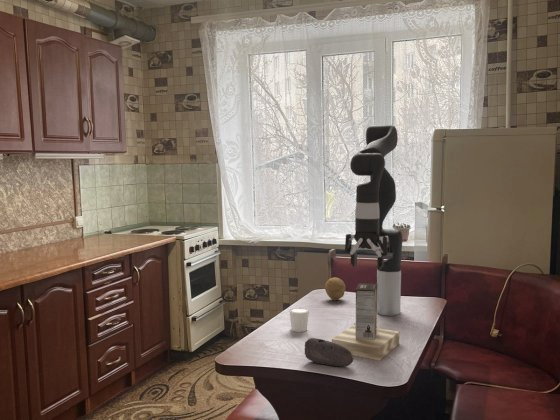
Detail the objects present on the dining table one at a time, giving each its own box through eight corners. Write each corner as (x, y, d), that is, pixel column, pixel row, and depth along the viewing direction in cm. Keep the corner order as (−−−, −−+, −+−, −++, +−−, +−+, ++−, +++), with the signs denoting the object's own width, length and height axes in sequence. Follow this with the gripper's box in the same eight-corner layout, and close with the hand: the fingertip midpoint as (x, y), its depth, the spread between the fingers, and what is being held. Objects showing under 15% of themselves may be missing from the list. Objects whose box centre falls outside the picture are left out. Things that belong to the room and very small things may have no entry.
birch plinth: (354, 335, 191) (354, 324, 191) (399, 343, 183) (399, 331, 182) (331, 351, 176) (331, 338, 175) (379, 360, 167) (379, 347, 167)
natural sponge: (328, 296, 247) (328, 274, 246) (348, 298, 243) (348, 276, 242) (322, 301, 238) (322, 278, 237) (342, 303, 235) (342, 280, 234)
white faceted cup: (312, 329, 199) (312, 310, 198) (300, 333, 194) (300, 314, 193) (298, 325, 203) (298, 306, 203) (285, 329, 198) (285, 310, 198)
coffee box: (357, 330, 184) (357, 282, 183) (377, 331, 183) (377, 283, 181) (355, 338, 175) (355, 288, 174) (375, 340, 174) (376, 289, 172)
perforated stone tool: (356, 366, 163) (356, 343, 162) (349, 372, 158) (349, 348, 158) (311, 357, 171) (311, 335, 170) (303, 362, 166) (303, 339, 166)
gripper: (393, 216, 175) (392, 267, 176) (351, 214, 182) (351, 263, 184) (384, 218, 168) (384, 271, 170) (341, 216, 176) (341, 267, 177)
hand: (366, 267), depth 177 cm, fingers open, 8 cm apart
